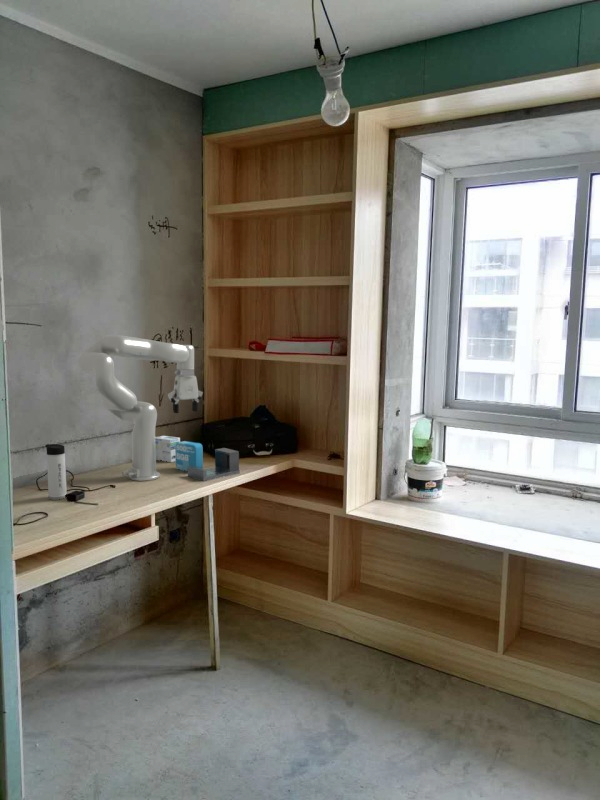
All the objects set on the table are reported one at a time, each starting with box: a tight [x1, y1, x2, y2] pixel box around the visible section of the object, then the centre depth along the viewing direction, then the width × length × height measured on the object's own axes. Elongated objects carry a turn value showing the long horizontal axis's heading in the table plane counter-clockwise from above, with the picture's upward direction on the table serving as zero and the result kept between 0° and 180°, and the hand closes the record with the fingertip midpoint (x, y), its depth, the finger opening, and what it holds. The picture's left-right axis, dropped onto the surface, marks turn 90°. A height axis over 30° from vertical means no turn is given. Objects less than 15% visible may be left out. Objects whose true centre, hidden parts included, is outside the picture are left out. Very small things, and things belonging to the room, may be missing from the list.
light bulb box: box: [155, 435, 181, 463], centre depth 295 cm, size 11×7×11 cm, turn 58°
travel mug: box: [44, 443, 68, 501], centre depth 232 cm, size 6×7×20 cm
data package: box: [175, 440, 204, 472], centre depth 276 cm, size 12×4×12 cm, turn 58°
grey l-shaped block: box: [187, 447, 241, 482], centre depth 268 cm, size 19×11×10 cm, turn 135°
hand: (185, 412), depth 278 cm, fingers open, 9 cm apart
